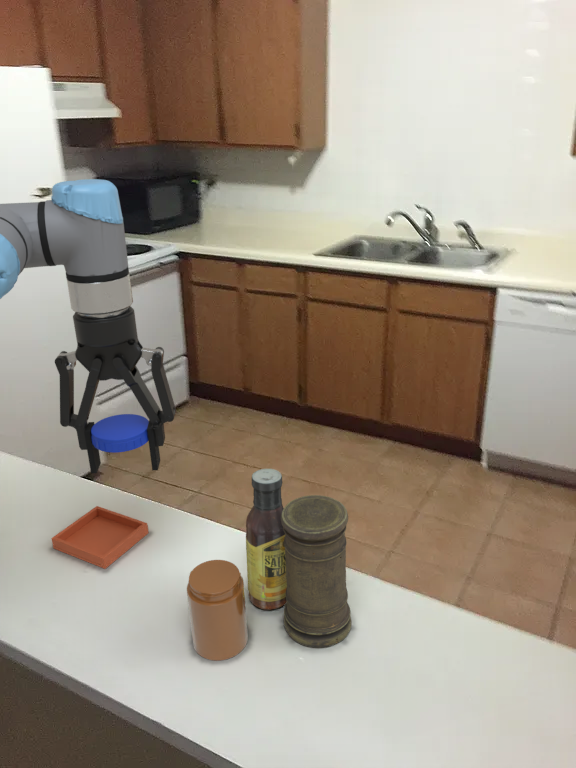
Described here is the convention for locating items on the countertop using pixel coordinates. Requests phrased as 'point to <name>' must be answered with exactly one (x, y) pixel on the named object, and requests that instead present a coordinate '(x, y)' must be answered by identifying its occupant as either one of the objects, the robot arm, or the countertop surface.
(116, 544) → the tray
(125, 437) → the lid
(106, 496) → the countertop surface
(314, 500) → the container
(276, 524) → the sauce bottle
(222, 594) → the jar
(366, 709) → the countertop surface
